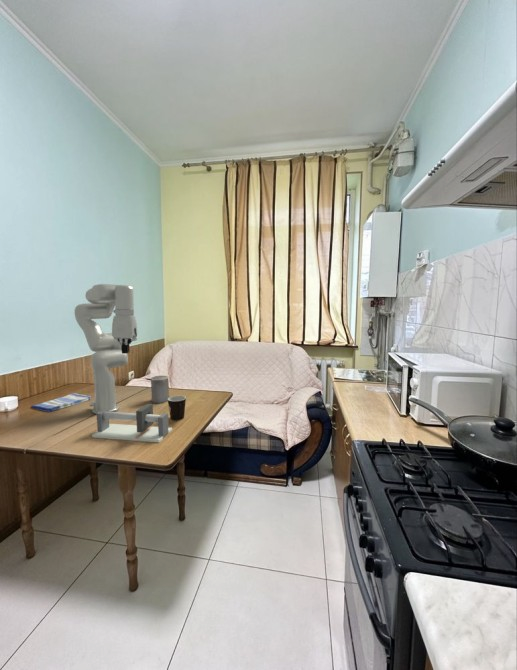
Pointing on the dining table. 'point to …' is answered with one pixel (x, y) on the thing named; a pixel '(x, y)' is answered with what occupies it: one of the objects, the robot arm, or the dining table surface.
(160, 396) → the pillar candle
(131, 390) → the dining table surface
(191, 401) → the dining table surface
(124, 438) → the pipe rig
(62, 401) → the dish towel
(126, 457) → the dining table surface
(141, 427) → the collar
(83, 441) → the dining table surface
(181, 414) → the coffee mug
